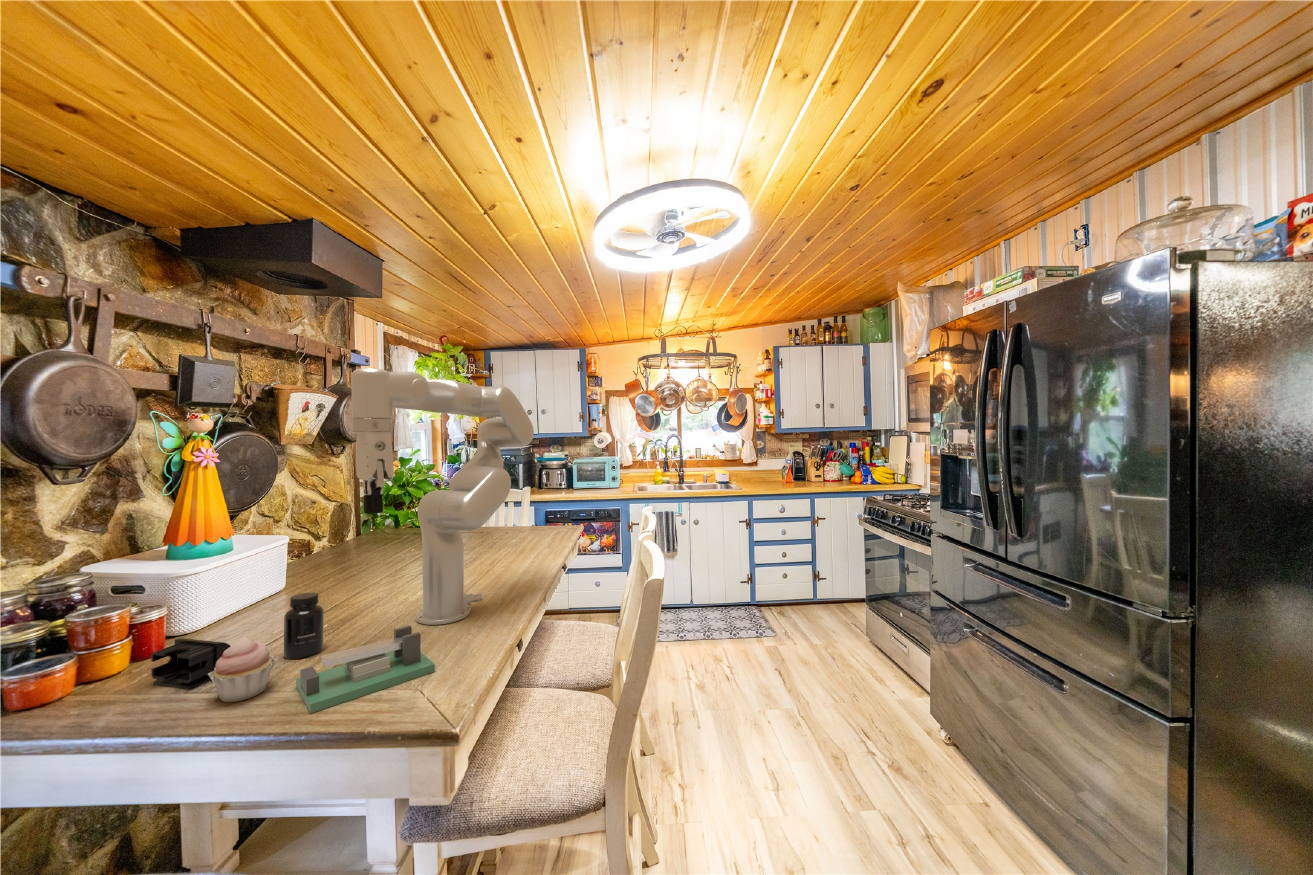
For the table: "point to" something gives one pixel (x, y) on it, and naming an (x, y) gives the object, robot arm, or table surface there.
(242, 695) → the cupcake
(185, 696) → the table surface
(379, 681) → the board
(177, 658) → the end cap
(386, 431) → the robot arm
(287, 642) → the supplement bottle
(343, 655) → the grey long bar
